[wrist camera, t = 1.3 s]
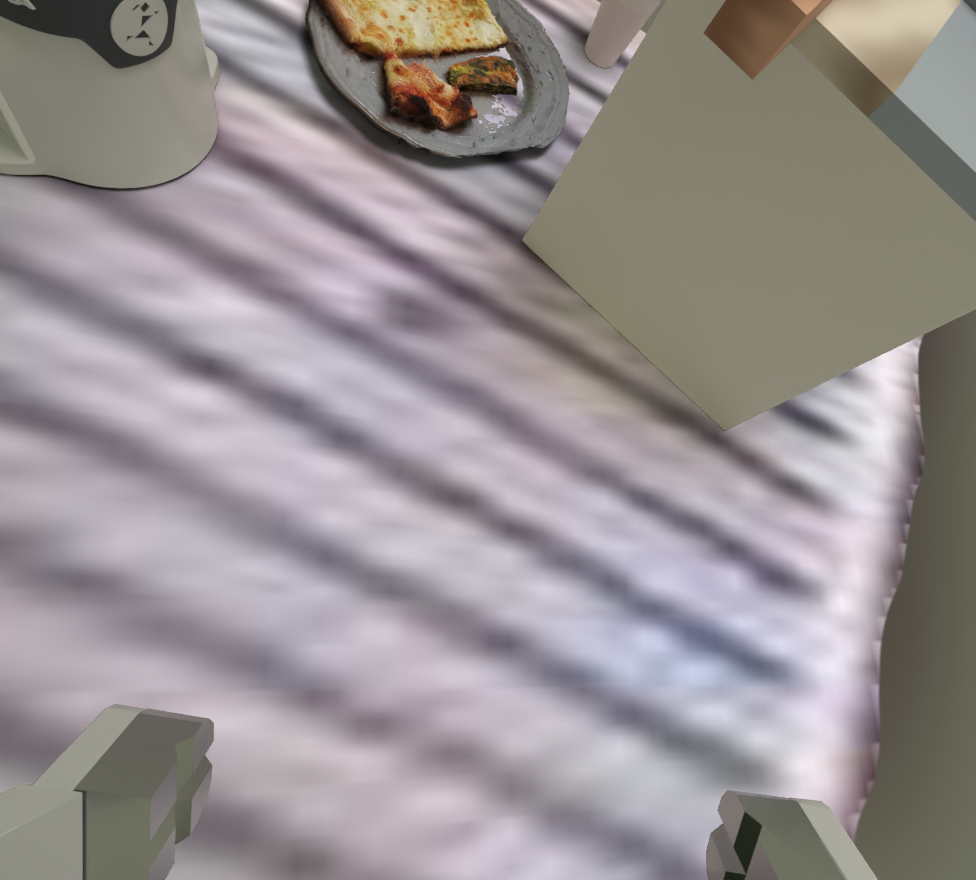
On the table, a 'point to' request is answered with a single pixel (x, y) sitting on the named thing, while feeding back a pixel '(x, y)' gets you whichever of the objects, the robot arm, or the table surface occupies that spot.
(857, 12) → the lidded kitchen bin
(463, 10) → the food plate
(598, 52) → the smoothie
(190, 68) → the robot arm
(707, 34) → the rod
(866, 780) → the table surface
